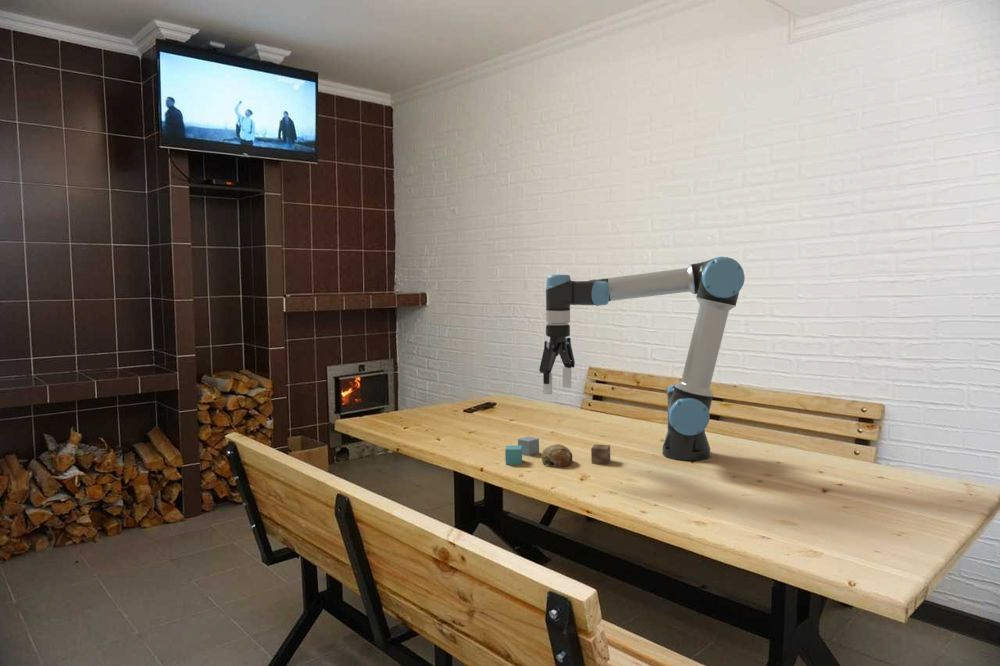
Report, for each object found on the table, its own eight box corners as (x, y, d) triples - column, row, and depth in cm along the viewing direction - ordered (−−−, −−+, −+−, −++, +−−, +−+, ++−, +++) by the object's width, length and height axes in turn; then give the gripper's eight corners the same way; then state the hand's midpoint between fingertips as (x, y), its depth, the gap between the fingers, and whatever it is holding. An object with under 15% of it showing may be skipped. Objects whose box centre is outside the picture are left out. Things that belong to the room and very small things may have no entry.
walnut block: (610, 460, 226) (610, 445, 225) (607, 464, 221) (606, 449, 221) (595, 459, 228) (594, 444, 227) (591, 463, 223) (591, 448, 222)
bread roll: (539, 475, 224) (534, 455, 221) (550, 454, 232) (545, 435, 228) (568, 478, 220) (563, 458, 216) (578, 457, 227) (574, 438, 224)
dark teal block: (522, 460, 229) (521, 445, 228) (521, 464, 224) (520, 449, 223) (507, 460, 229) (506, 445, 229) (505, 464, 224) (505, 449, 224)
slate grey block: (539, 453, 237) (538, 438, 237) (529, 456, 234) (528, 441, 233) (528, 450, 241) (528, 436, 240) (518, 453, 237) (517, 439, 237)
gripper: (564, 320, 233) (564, 384, 235) (528, 326, 212) (528, 395, 214) (585, 321, 230) (584, 385, 232) (550, 327, 208) (550, 398, 210)
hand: (557, 390), depth 223 cm, fingers open, 13 cm apart
